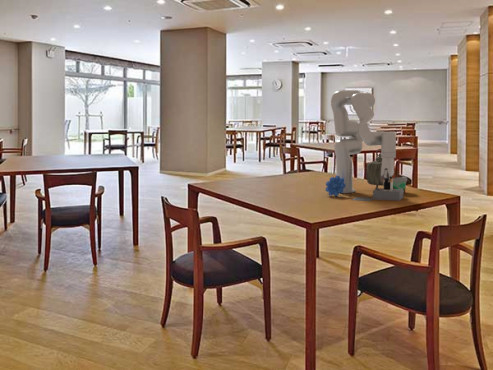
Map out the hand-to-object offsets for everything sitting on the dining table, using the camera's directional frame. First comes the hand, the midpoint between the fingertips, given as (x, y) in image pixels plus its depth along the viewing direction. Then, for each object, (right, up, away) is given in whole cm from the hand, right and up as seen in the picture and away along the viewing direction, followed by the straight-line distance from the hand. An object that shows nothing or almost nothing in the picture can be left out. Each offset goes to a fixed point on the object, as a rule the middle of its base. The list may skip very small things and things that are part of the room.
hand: (388, 188), depth 264 cm
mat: (-13, -6, +1) cm, 15 cm away
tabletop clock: (+4, -1, +32) cm, 32 cm away
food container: (+12, -4, +15) cm, 19 cm away
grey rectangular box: (0, -6, +1) cm, 6 cm away
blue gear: (-25, -5, +17) cm, 31 cm away
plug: (0, -5, +1) cm, 5 cm away
